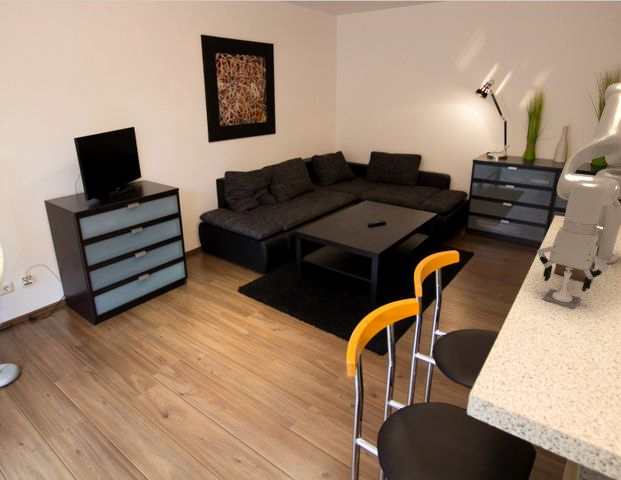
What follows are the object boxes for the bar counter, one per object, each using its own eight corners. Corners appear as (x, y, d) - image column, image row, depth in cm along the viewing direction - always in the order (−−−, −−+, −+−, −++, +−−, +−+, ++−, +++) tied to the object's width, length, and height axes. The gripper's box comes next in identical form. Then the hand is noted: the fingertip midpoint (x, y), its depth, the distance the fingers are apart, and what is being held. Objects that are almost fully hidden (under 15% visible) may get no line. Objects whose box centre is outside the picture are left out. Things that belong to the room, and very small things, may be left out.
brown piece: (558, 269, 136) (565, 235, 132) (593, 278, 130) (602, 243, 126) (553, 274, 133) (561, 239, 129) (589, 283, 126) (598, 247, 122)
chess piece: (574, 302, 114) (583, 270, 111) (555, 301, 115) (563, 268, 112) (568, 294, 119) (575, 263, 115) (549, 293, 120) (556, 261, 116)
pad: (550, 290, 122) (550, 289, 122) (581, 299, 117) (581, 297, 117) (542, 299, 117) (542, 298, 117) (574, 309, 112) (574, 308, 112)
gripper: (620, 230, 106) (604, 290, 112) (547, 217, 118) (536, 271, 124) (615, 237, 101) (598, 299, 107) (539, 223, 113) (528, 279, 119)
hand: (565, 284), depth 115 cm, fingers open, 9 cm apart
